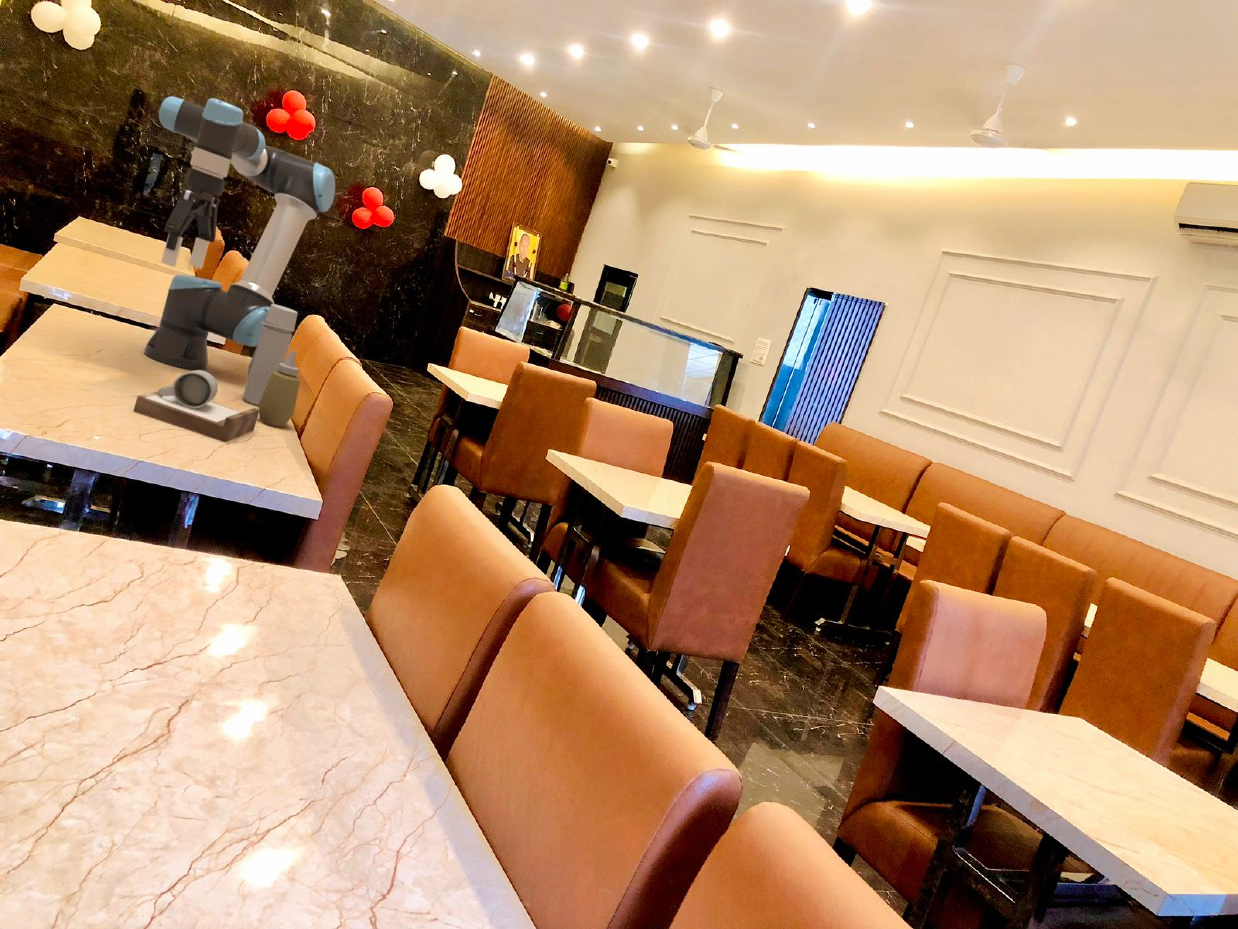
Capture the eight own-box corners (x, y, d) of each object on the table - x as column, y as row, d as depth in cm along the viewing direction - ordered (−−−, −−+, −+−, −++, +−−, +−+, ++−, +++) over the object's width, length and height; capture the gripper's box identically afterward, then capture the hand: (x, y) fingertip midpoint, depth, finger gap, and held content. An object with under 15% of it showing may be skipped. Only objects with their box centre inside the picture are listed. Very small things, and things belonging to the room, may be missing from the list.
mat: (175, 391, 194) (175, 390, 193) (242, 414, 195) (242, 413, 195) (144, 398, 180) (144, 397, 180) (216, 422, 181) (216, 422, 181)
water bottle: (278, 408, 224) (306, 315, 220) (254, 407, 217) (282, 310, 213) (253, 396, 228) (280, 304, 224) (229, 394, 220) (256, 298, 216)
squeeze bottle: (260, 415, 212) (281, 344, 209) (293, 426, 213) (315, 355, 210) (249, 419, 204) (271, 346, 201) (283, 431, 205) (305, 358, 202)
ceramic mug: (214, 406, 192) (223, 372, 191) (206, 413, 185) (216, 378, 183) (163, 391, 189) (171, 357, 188) (152, 398, 182) (161, 363, 180)
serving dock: (169, 401, 195) (175, 380, 194) (253, 430, 197) (259, 409, 196) (133, 411, 179) (139, 388, 178) (225, 442, 181) (231, 419, 180)
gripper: (214, 174, 205) (190, 261, 208) (164, 157, 180) (137, 257, 184) (245, 185, 206) (221, 273, 209) (200, 170, 181) (173, 269, 184)
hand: (182, 265), depth 196 cm, fingers open, 13 cm apart
